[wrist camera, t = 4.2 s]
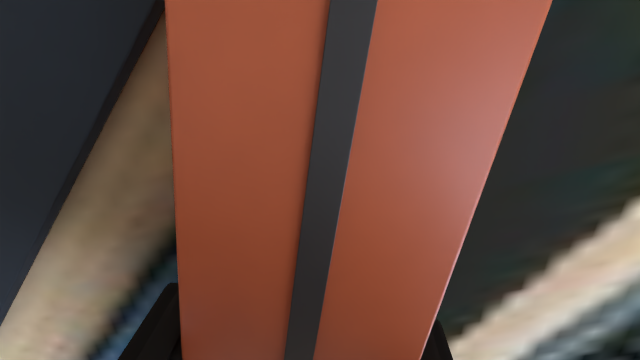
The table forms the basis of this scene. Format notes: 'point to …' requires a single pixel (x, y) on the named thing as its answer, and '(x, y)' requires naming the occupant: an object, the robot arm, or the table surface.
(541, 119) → the table surface
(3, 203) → the mat
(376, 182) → the pencil case
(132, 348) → the robot arm
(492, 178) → the table surface
